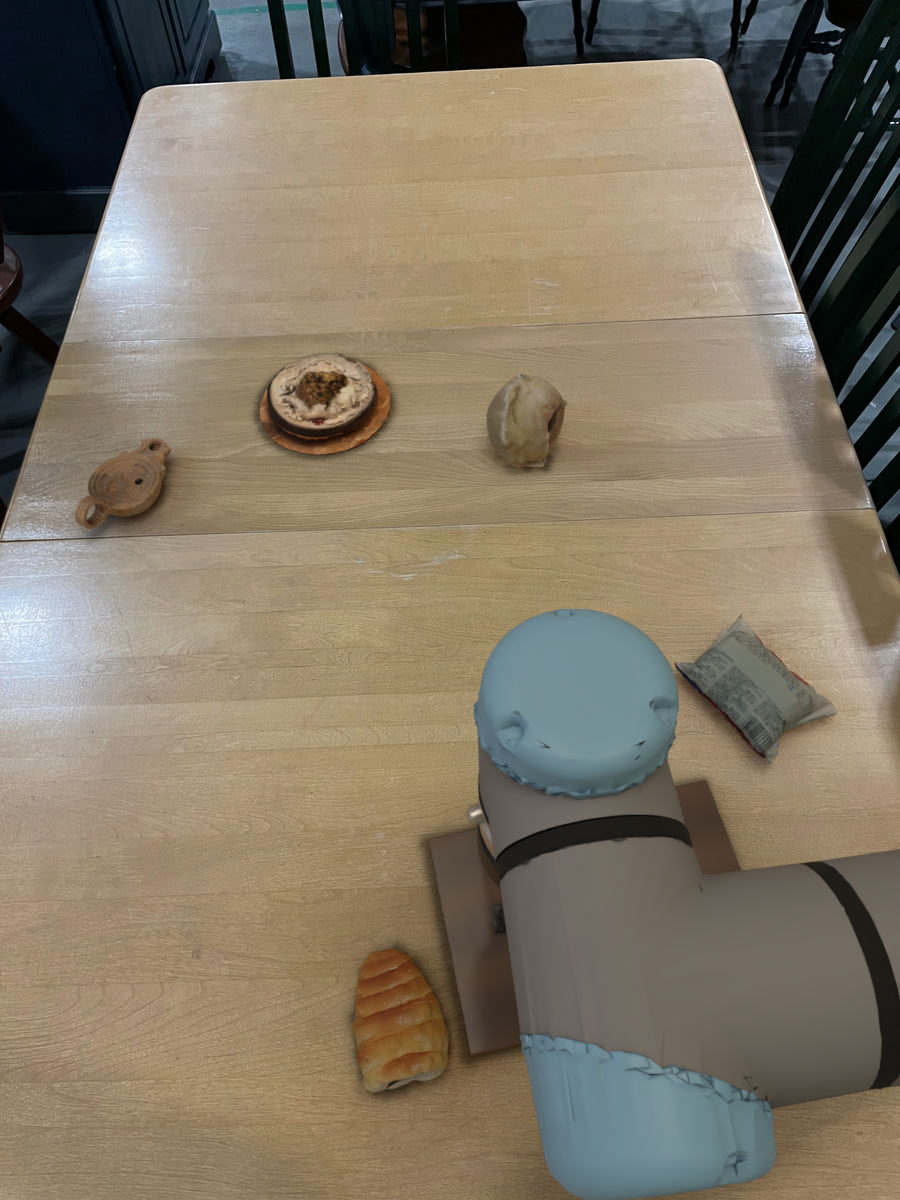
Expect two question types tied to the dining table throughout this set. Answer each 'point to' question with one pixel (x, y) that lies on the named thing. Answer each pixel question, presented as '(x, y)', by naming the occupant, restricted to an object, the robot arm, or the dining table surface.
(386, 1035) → the pastry
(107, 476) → the oil lamp
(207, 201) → the dining table surface
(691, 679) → the packaged food
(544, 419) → the beige rounded shell
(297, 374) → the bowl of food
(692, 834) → the cutting board
